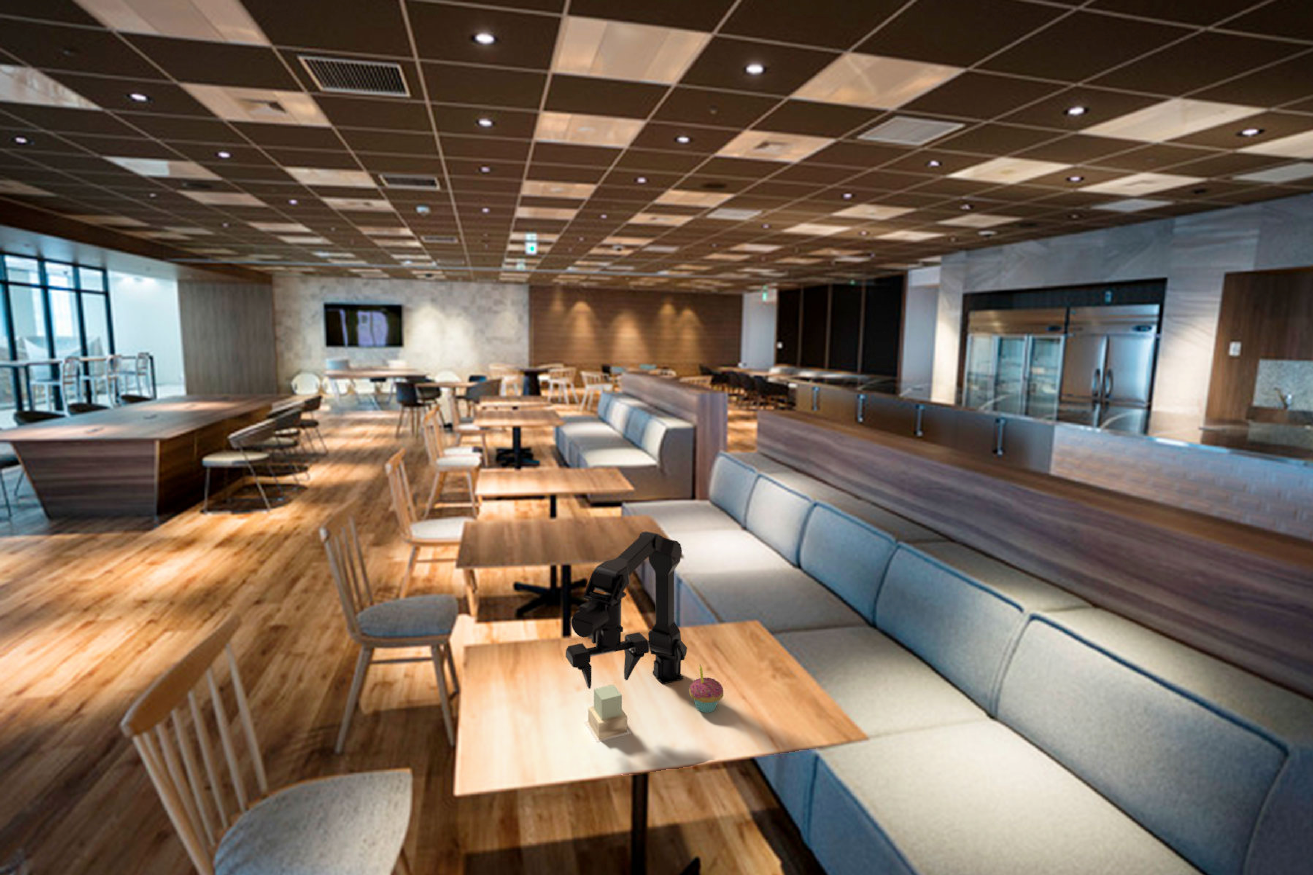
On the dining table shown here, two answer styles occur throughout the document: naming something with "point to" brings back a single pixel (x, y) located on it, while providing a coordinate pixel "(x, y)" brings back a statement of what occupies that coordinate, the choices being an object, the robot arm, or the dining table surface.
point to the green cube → (607, 702)
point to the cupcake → (706, 693)
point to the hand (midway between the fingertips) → (607, 683)
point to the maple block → (607, 724)
